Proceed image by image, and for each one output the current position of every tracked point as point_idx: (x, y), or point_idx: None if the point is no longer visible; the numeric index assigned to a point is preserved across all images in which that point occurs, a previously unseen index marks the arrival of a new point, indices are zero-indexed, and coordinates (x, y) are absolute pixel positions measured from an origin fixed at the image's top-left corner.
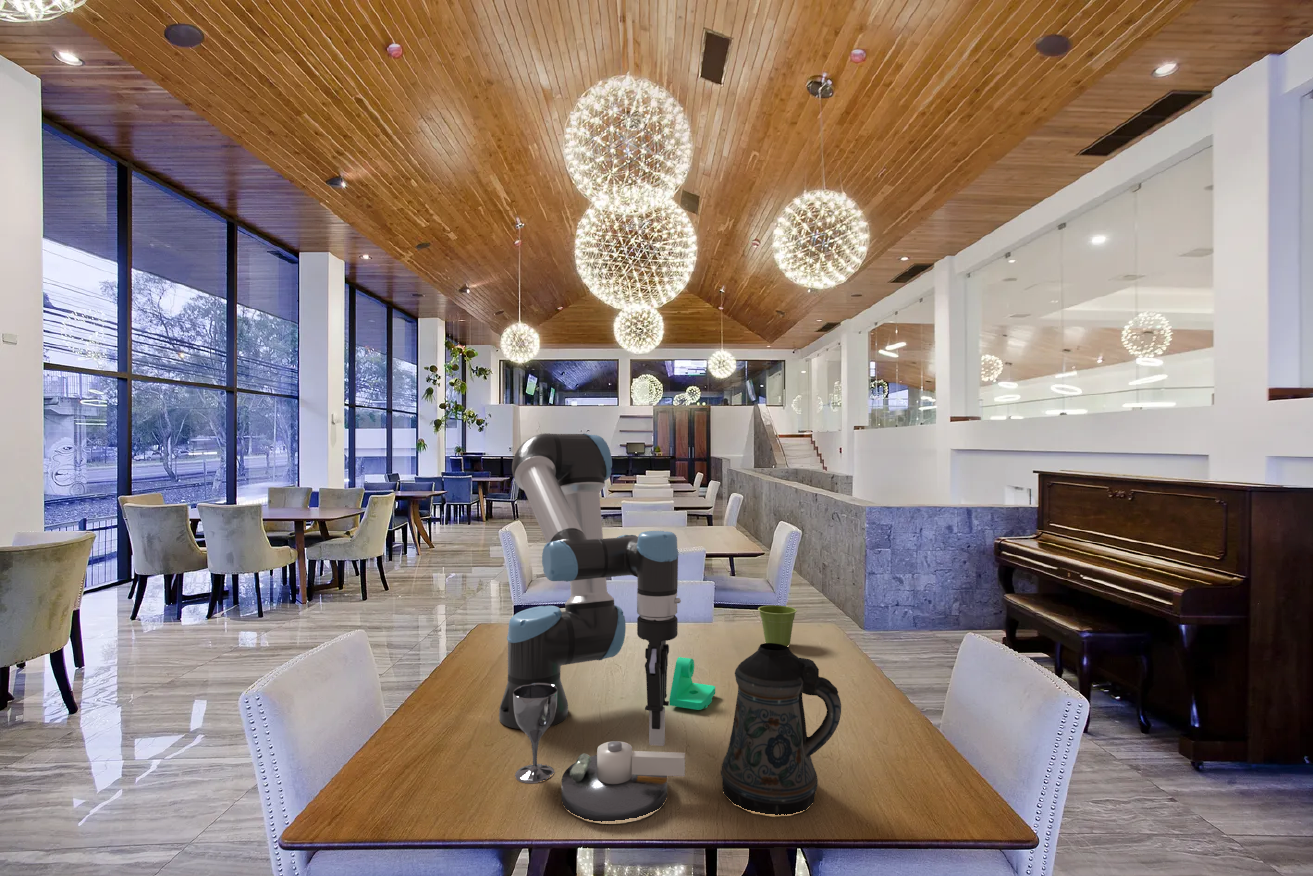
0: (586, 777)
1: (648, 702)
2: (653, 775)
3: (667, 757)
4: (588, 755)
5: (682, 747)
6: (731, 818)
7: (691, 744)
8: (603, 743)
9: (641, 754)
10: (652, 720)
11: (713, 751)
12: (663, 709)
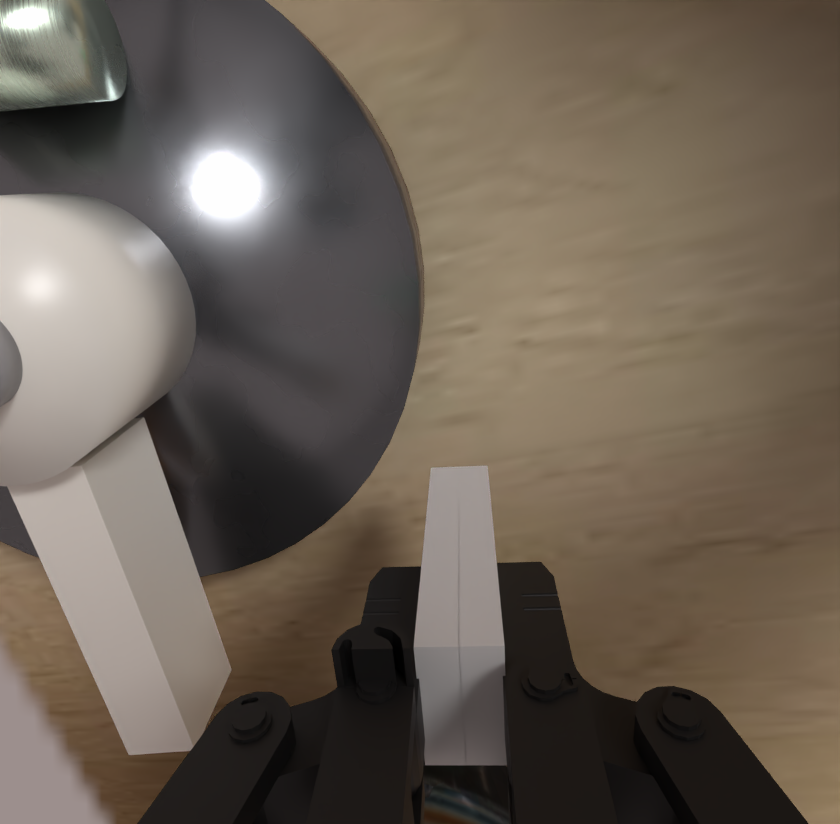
0: (4, 121)
1: (161, 809)
2: (194, 511)
3: (95, 677)
4: (78, 69)
5: (748, 520)
6: None
7: (789, 558)
8: (7, 225)
9: (61, 530)
10: (365, 622)
11: (708, 659)
12: (443, 761)
